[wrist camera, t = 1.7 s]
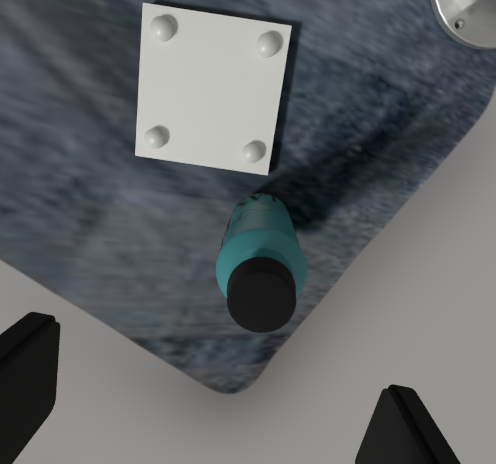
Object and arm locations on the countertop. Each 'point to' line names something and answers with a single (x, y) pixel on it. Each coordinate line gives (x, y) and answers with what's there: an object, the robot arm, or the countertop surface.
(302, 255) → the beverage bottle
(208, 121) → the base plate
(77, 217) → the countertop surface
